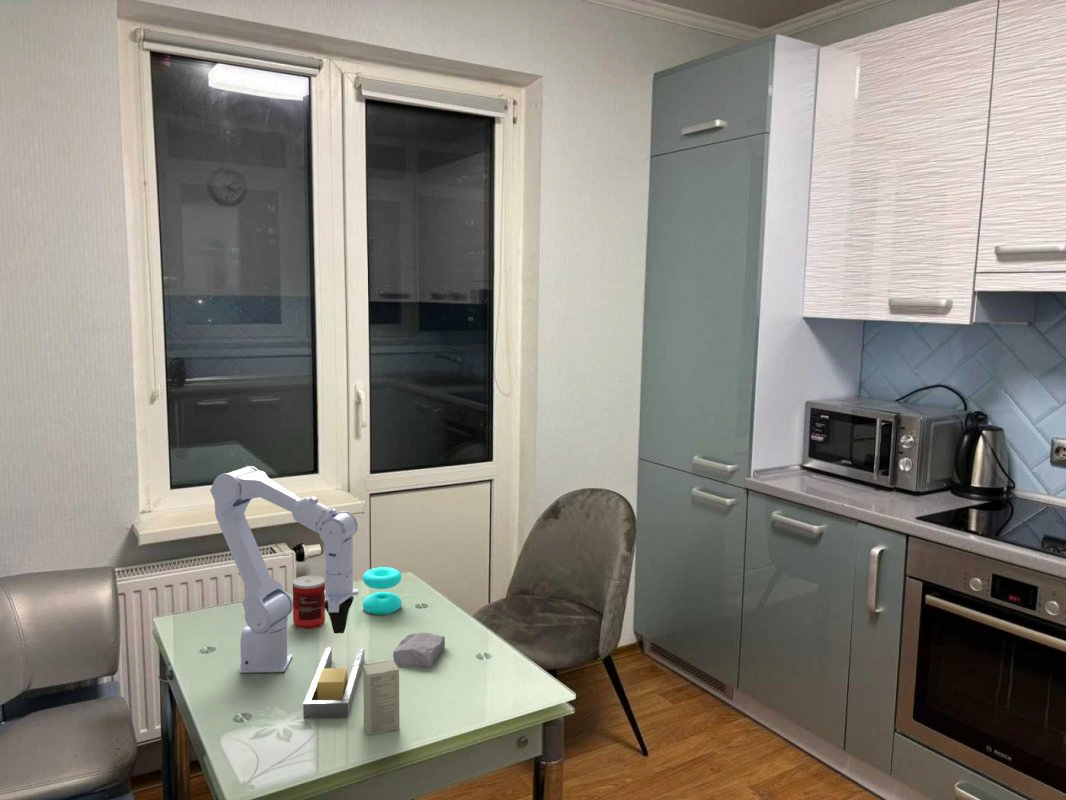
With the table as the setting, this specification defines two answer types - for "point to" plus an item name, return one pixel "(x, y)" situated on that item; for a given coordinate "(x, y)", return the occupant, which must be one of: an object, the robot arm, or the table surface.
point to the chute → (333, 707)
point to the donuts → (382, 600)
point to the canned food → (308, 602)
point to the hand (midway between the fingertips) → (339, 632)
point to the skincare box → (381, 697)
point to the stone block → (419, 649)
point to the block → (332, 684)
